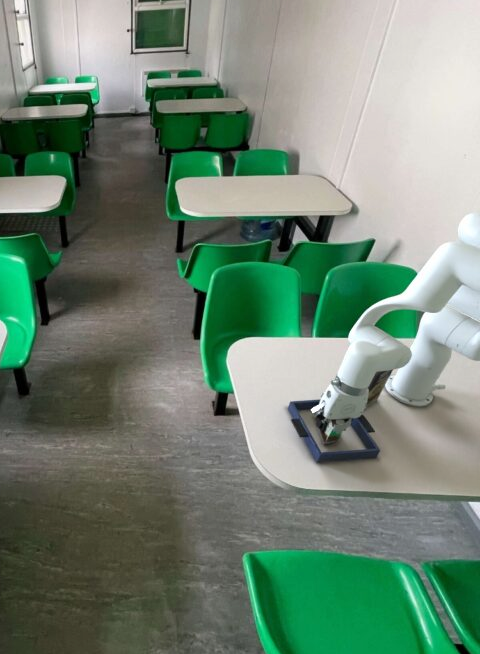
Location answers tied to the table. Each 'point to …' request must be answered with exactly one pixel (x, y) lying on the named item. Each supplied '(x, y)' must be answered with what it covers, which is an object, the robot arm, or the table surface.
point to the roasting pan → (361, 429)
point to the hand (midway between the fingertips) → (330, 427)
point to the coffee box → (377, 385)
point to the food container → (333, 429)
